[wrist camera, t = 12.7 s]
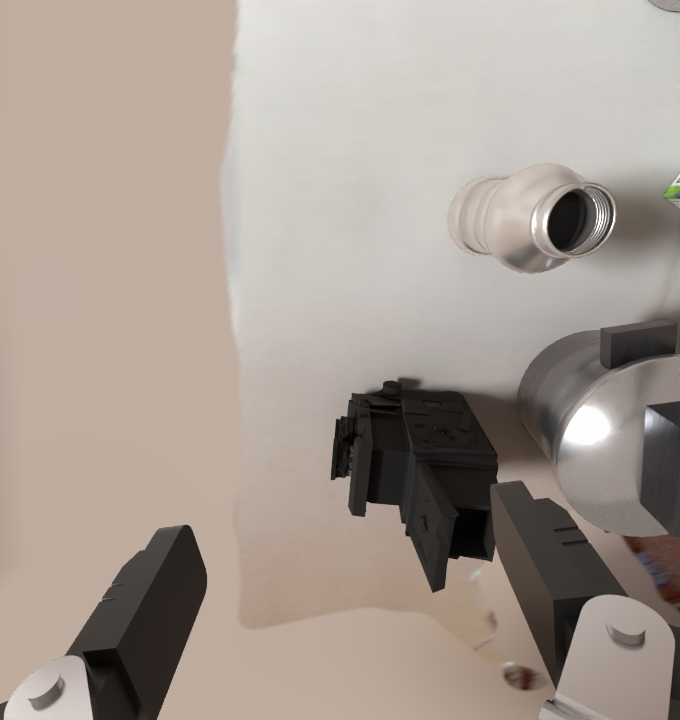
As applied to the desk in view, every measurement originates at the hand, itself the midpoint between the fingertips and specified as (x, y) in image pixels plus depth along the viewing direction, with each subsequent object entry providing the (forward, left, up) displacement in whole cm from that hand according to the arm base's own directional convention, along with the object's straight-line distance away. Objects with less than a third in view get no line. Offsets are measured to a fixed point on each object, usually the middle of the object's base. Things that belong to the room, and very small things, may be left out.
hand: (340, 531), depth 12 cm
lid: (-6, +26, -23) cm, 36 cm away
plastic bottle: (-13, +5, -34) cm, 37 cm away
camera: (+8, +12, -34) cm, 37 cm away
